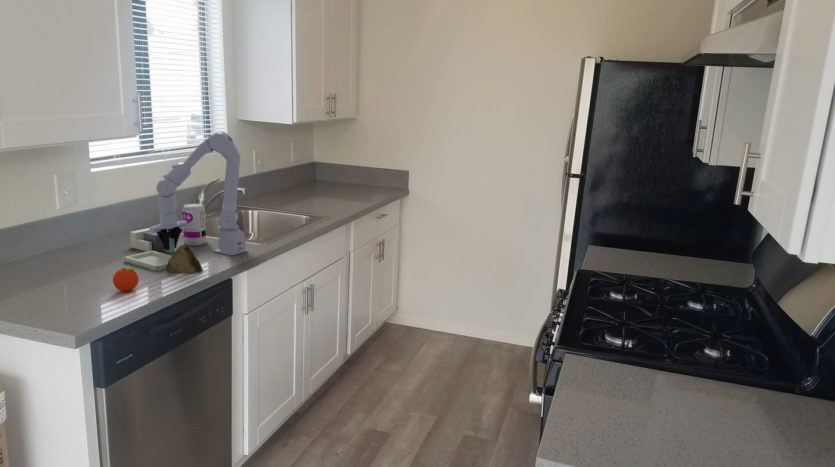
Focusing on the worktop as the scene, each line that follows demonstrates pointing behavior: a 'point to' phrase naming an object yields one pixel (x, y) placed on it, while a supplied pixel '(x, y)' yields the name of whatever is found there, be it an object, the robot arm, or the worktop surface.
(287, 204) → the worktop surface
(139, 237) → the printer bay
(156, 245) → the toner caddy
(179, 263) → the rock
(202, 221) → the supplement can
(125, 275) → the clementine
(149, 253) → the tray
